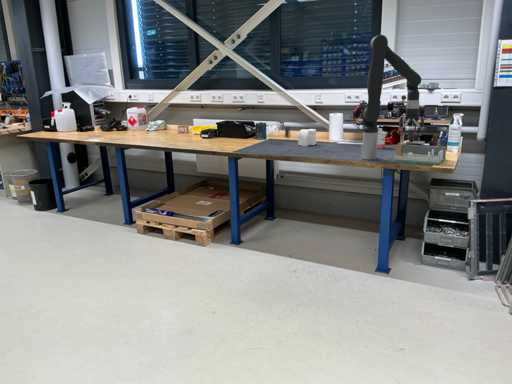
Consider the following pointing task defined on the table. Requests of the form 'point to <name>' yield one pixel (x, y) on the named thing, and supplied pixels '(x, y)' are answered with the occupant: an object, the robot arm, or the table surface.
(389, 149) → the table surface
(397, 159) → the translucent green rectangular tray
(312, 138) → the light grey block
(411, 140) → the striker
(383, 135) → the ink cartridge box
